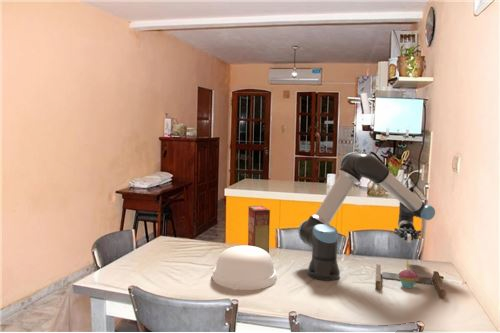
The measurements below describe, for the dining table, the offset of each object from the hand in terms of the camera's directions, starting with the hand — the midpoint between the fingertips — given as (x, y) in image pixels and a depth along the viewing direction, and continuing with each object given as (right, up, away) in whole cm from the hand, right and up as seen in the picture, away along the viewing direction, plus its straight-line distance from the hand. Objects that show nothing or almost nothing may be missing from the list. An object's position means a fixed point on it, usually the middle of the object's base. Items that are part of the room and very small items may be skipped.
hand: (409, 239), depth 196 cm
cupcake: (-3, -20, -6) cm, 21 cm away
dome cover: (-77, -18, -1) cm, 79 cm away
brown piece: (-3, -20, -4) cm, 20 cm away
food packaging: (-70, -14, +41) cm, 82 cm away
